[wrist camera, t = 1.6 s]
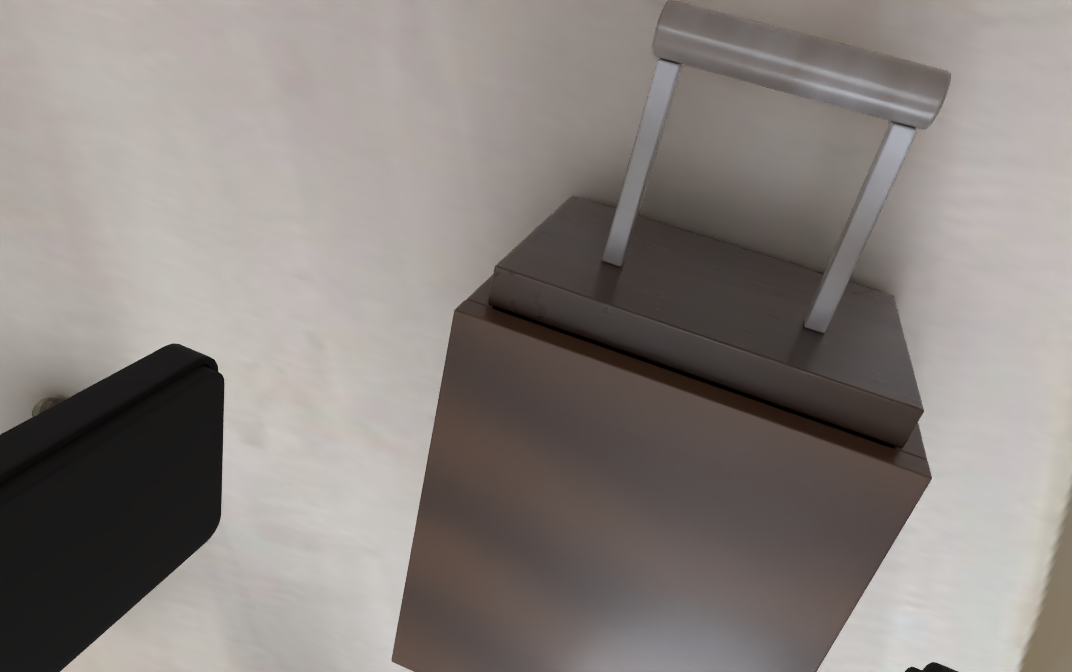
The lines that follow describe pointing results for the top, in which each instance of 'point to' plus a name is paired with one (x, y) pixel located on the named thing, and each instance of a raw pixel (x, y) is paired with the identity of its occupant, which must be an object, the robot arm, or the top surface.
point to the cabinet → (633, 516)
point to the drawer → (732, 272)
